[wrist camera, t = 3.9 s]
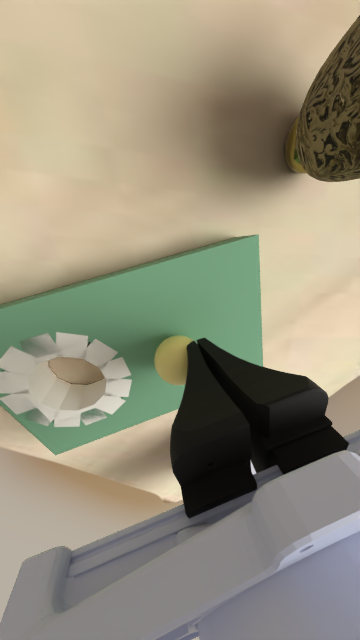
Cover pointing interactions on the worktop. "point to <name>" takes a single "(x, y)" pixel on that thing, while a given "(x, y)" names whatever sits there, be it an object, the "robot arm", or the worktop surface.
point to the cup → (330, 117)
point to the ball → (173, 359)
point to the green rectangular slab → (125, 339)
